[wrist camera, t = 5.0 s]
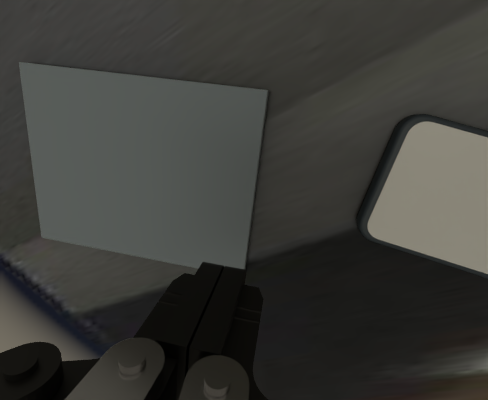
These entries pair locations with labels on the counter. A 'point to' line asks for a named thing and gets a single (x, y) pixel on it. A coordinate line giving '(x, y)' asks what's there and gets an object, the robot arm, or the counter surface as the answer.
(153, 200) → the mat
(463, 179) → the smartphone
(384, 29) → the counter surface
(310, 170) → the counter surface
